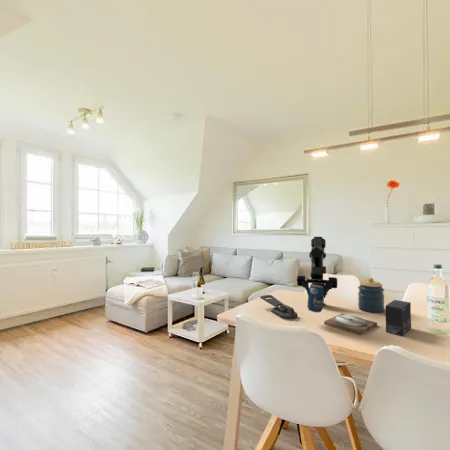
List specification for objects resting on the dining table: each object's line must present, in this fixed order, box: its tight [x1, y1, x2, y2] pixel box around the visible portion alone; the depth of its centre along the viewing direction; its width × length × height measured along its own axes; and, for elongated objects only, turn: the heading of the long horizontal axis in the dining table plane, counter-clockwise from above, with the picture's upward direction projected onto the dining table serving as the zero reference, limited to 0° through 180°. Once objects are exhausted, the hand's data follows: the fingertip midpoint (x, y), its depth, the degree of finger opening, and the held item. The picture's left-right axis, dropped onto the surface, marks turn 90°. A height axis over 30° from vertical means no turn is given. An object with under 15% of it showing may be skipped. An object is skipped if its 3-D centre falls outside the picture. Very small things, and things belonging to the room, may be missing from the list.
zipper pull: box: [259, 294, 298, 321], centre depth 151 cm, size 9×7×25 cm
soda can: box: [306, 283, 325, 313], centre depth 133 cm, size 7×7×12 cm
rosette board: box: [323, 313, 378, 336], centre depth 131 cm, size 17×17×3 cm
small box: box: [384, 299, 412, 337], centre depth 124 cm, size 13×7×12 cm, turn 133°
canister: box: [357, 277, 385, 314], centre depth 154 cm, size 13×13×18 cm
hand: (316, 296), depth 131 cm, fingers closed on soda can, 6 cm apart
